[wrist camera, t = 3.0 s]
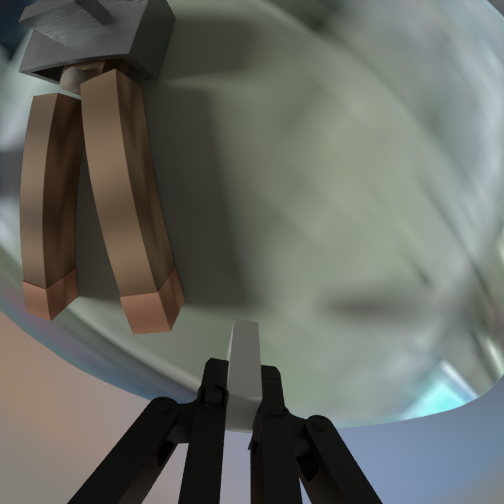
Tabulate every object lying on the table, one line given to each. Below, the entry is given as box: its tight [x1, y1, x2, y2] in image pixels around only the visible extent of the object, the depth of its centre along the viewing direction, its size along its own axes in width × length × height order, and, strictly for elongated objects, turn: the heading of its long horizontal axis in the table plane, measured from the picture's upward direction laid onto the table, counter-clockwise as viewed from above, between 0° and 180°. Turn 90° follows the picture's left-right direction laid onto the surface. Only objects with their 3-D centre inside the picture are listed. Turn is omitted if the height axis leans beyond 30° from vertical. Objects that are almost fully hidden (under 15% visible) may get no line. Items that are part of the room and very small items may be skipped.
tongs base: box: [20, 58, 129, 321], centre depth 17 cm, size 24×6×5 cm, turn 169°
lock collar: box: [19, 0, 176, 84], centre depth 12 cm, size 6×10×10 cm, turn 79°
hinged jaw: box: [80, 69, 185, 334], centre depth 18 cm, size 18×3×5 cm, turn 9°
